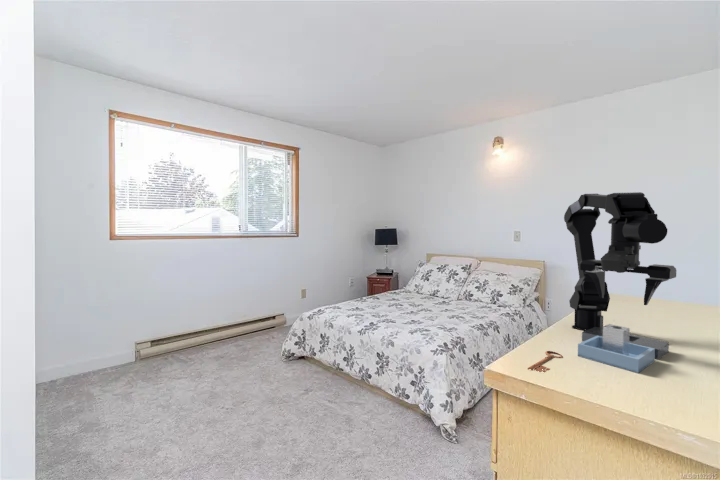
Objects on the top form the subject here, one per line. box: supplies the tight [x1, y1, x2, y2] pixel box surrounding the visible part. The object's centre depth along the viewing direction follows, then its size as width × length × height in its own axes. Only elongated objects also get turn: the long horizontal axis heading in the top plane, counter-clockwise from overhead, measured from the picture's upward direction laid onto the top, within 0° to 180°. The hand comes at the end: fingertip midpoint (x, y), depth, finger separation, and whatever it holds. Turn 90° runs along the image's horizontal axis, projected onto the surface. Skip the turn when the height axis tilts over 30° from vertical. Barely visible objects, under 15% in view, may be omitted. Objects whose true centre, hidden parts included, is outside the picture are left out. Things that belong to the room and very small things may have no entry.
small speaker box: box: [603, 323, 631, 356], centre depth 77 cm, size 4×4×7 cm
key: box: [527, 350, 564, 373], centre depth 75 cm, size 6×1×15 cm
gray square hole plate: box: [581, 327, 670, 361], centre depth 85 cm, size 16×9×2 cm, turn 34°
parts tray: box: [577, 336, 656, 374], centre depth 77 cm, size 12×12×3 cm
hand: (622, 301), depth 83 cm, fingers open, 9 cm apart
